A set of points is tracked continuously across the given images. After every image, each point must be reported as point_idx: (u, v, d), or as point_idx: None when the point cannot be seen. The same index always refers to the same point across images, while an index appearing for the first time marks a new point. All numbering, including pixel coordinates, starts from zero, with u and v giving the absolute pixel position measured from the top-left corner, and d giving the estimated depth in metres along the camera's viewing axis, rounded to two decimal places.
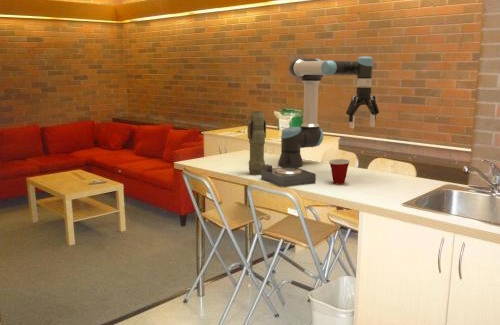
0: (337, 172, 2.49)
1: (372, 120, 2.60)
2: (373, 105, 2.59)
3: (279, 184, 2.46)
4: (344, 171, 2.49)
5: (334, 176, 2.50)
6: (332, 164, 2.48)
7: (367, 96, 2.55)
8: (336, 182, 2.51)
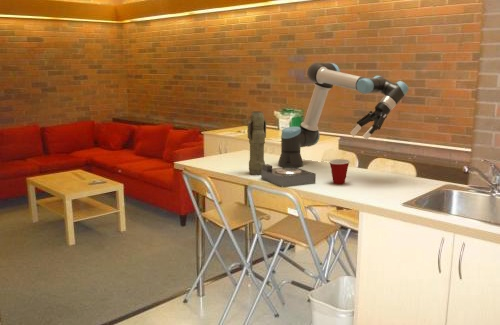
0: (337, 172, 2.49)
1: (357, 130, 2.58)
2: None
3: (279, 184, 2.46)
4: (344, 171, 2.49)
5: (334, 176, 2.50)
6: (332, 164, 2.48)
7: None
8: (336, 182, 2.51)
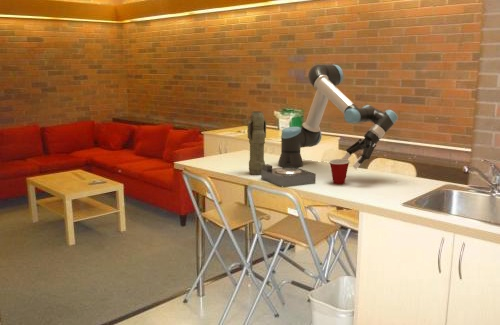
0: (337, 172, 2.49)
1: (346, 158, 2.58)
2: (354, 146, 2.59)
3: (279, 184, 2.46)
4: (344, 171, 2.49)
5: (334, 176, 2.50)
6: (332, 164, 2.48)
7: None
8: (336, 182, 2.51)
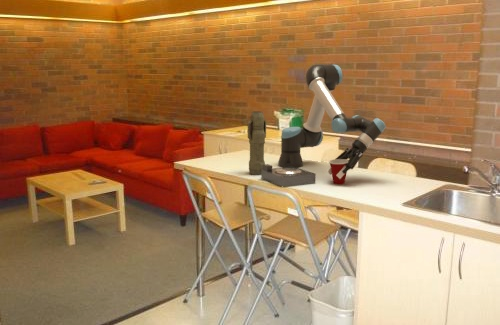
0: (337, 172, 2.49)
1: None
2: (342, 156, 2.58)
3: (279, 184, 2.46)
4: None
5: (334, 176, 2.50)
6: (332, 164, 2.48)
7: None
8: (336, 182, 2.51)
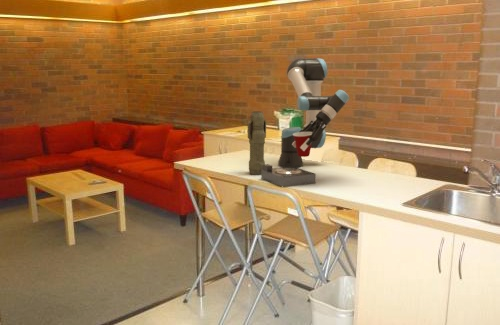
0: (301, 145, 2.47)
1: None
2: (307, 129, 2.57)
3: (279, 184, 2.46)
4: None
5: (298, 149, 2.49)
6: (296, 136, 2.47)
7: None
8: (301, 155, 2.50)
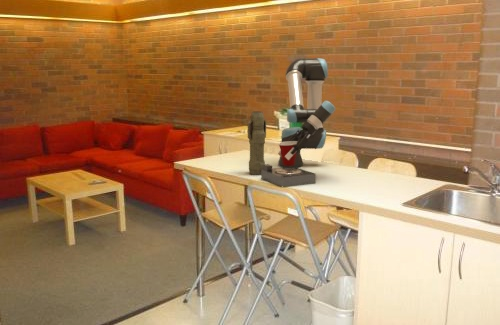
0: (285, 154, 2.51)
1: None
2: None
3: (279, 184, 2.46)
4: None
5: (283, 157, 2.53)
6: (281, 145, 2.51)
7: None
8: (285, 163, 2.53)
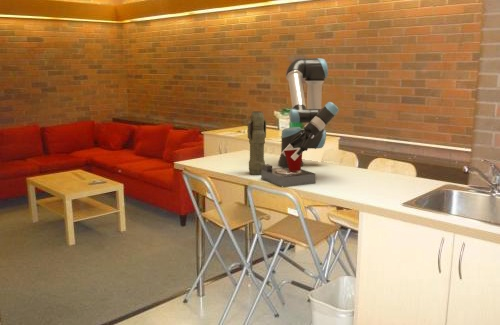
0: (291, 159, 2.51)
1: None
2: None
3: (279, 184, 2.46)
4: (298, 157, 2.50)
5: (289, 163, 2.52)
6: (286, 151, 2.51)
7: None
8: (291, 169, 2.52)
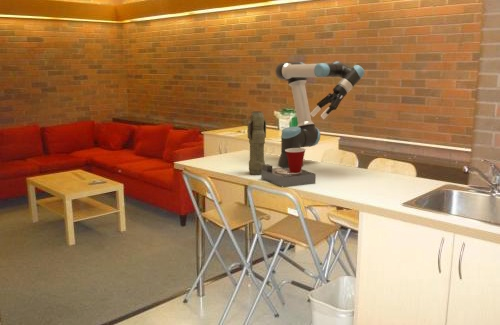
0: (292, 161, 2.50)
1: (316, 111, 2.74)
2: None
3: (279, 184, 2.46)
4: (299, 159, 2.50)
5: (290, 164, 2.51)
6: (287, 152, 2.50)
7: None
8: (292, 170, 2.52)
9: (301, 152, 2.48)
